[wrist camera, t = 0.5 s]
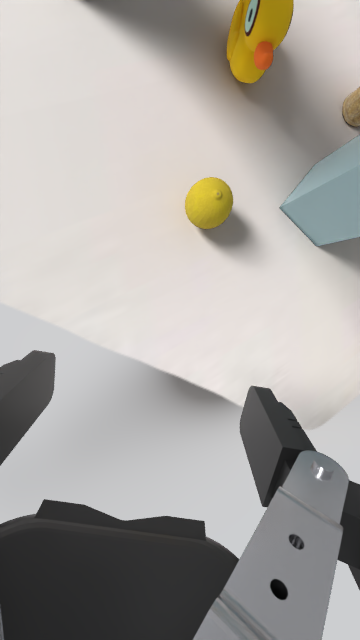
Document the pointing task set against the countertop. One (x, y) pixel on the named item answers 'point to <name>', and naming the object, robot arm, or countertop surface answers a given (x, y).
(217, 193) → the lemon
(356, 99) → the sprinkles bottle
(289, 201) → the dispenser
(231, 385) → the countertop surface
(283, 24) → the duckling
